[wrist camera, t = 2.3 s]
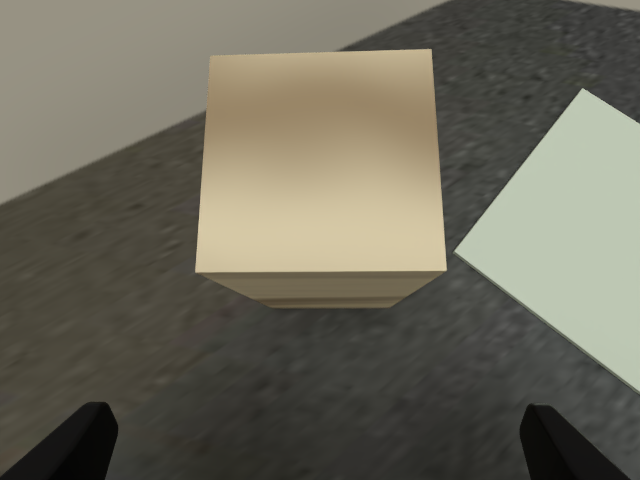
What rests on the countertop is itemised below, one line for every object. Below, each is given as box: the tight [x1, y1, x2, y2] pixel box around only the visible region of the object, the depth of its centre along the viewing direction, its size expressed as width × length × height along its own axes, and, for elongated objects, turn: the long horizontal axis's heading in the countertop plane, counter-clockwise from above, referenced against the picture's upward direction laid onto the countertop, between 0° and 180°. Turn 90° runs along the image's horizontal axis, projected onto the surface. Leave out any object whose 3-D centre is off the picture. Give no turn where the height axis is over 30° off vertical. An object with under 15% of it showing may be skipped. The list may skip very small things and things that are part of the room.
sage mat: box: [453, 88, 640, 395], centre depth 22 cm, size 12×12×1 cm
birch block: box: [195, 49, 447, 308], centre depth 17 cm, size 6×6×12 cm
